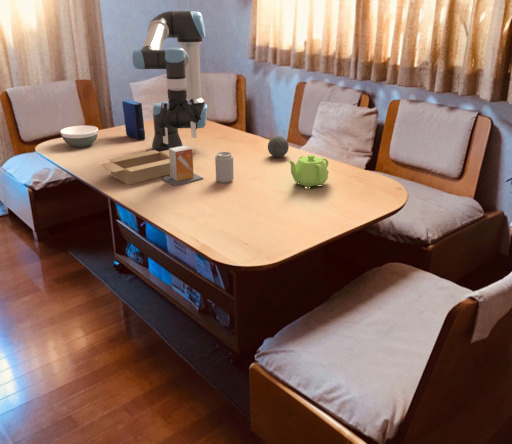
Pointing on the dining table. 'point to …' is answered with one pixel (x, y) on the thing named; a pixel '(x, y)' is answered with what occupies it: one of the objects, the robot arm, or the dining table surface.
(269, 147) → the decorative ball
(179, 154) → the small box
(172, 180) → the mat
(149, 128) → the dining table surface
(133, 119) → the book
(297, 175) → the teapot
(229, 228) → the dining table surface
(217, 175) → the can
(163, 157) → the carton
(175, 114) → the robot arm
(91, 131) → the bowl
